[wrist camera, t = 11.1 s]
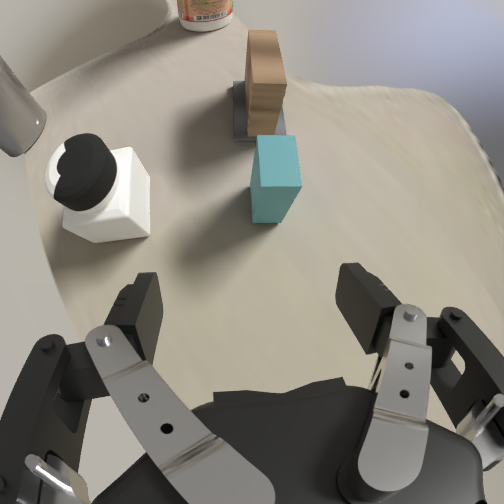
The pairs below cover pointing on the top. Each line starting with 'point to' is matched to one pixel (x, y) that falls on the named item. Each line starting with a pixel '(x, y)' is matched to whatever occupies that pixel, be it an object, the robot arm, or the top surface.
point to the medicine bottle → (100, 189)
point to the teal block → (274, 178)
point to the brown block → (260, 89)
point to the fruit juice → (205, 14)
